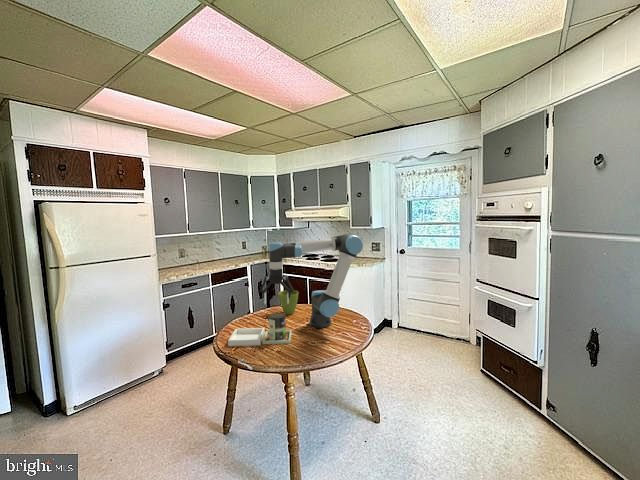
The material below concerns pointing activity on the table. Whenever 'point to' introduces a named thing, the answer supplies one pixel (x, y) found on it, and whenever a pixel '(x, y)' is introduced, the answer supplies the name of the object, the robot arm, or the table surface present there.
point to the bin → (247, 337)
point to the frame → (277, 340)
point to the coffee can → (277, 326)
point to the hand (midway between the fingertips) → (276, 303)
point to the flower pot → (292, 301)
